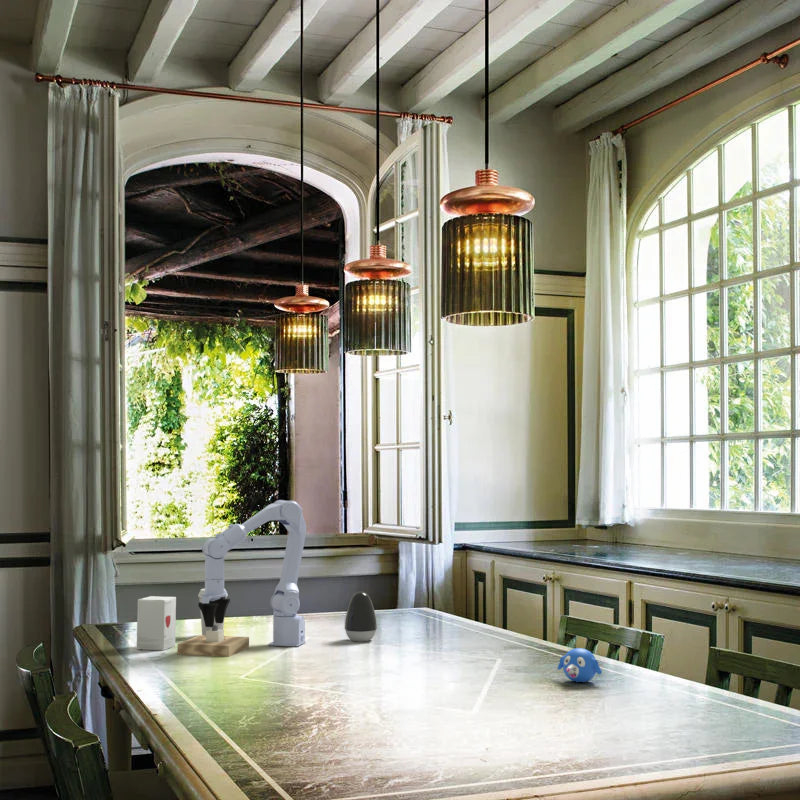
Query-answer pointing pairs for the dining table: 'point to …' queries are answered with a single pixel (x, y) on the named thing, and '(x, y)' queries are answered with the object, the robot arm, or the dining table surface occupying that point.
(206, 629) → the coffee cup
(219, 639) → the plug
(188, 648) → the socket plate
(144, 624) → the supplement box
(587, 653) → the blue mole toy
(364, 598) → the two-tone egg ornament
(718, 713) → the dining table surface
